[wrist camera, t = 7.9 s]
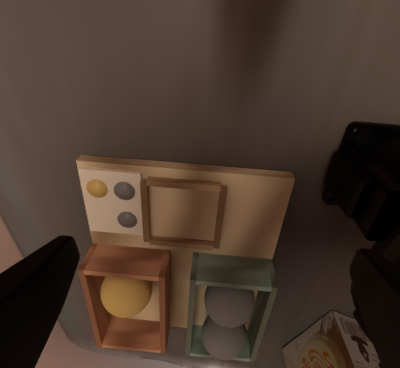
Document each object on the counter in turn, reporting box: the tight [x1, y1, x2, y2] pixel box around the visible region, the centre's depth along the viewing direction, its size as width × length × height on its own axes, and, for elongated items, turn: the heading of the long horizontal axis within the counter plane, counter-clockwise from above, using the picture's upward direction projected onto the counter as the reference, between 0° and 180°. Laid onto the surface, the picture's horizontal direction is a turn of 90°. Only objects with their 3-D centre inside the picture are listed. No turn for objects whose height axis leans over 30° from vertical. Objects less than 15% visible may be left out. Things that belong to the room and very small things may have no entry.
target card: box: [78, 167, 143, 235], centre depth 22 cm, size 5×6×1 cm
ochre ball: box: [100, 277, 152, 318], centre depth 24 cm, size 4×4×4 cm
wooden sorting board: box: [76, 155, 295, 362], centre depth 24 cm, size 16×20×4 cm
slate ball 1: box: [204, 286, 255, 328], centre depth 24 cm, size 4×4×4 cm
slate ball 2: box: [201, 315, 247, 360], centre depth 27 cm, size 4×4×4 cm
